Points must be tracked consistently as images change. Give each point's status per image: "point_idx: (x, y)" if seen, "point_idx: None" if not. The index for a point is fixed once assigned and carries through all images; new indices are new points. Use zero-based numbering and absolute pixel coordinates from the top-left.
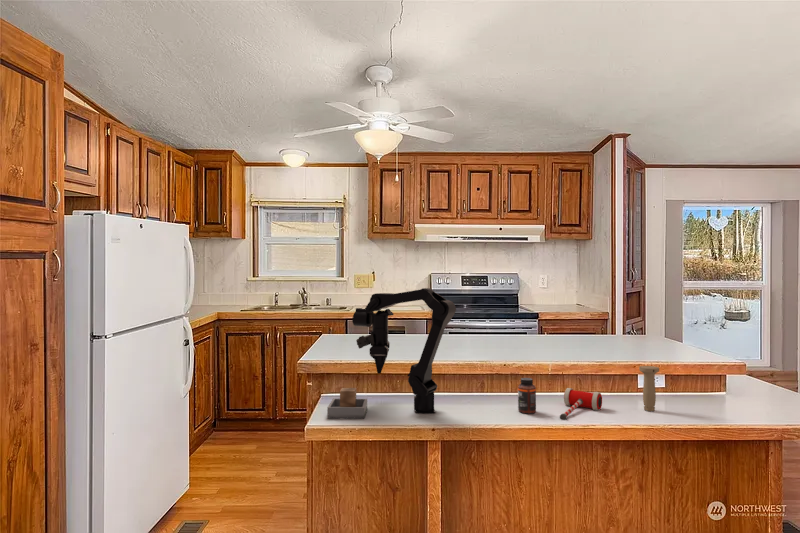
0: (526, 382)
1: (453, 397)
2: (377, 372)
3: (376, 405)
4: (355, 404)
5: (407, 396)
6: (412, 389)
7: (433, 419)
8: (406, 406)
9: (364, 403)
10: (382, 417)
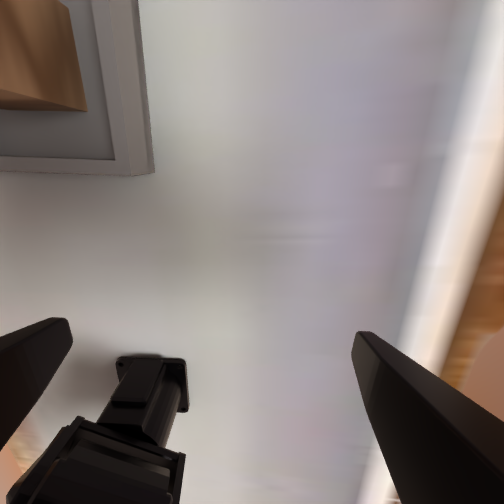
0: None
1: (333, 464)
2: (41, 322)
3: (221, 215)
4: (10, 104)
5: None
6: (64, 434)
7: (62, 395)
8: (211, 332)
9: (18, 163)
10: (34, 244)
